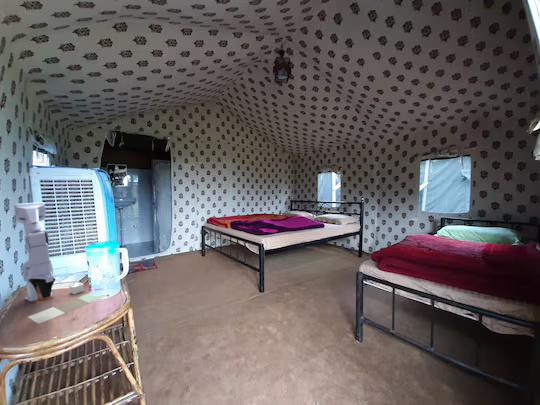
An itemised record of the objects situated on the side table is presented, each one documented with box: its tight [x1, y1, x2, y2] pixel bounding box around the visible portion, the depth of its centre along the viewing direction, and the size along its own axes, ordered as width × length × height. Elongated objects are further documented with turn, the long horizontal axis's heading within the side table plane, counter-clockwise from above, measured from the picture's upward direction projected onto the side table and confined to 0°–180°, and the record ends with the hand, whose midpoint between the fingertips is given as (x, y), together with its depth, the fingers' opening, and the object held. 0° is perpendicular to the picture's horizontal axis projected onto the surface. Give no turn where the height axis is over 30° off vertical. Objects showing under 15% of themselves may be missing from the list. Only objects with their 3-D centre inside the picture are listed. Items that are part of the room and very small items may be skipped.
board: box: [27, 292, 110, 325], centre depth 106 cm, size 10×25×1 cm, turn 152°
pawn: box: [34, 286, 54, 304], centre depth 98 cm, size 5×5×6 cm
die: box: [69, 282, 85, 295], centre depth 118 cm, size 4×4×4 cm
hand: (44, 295), depth 98 cm, fingers closed on pawn, 4 cm apart
